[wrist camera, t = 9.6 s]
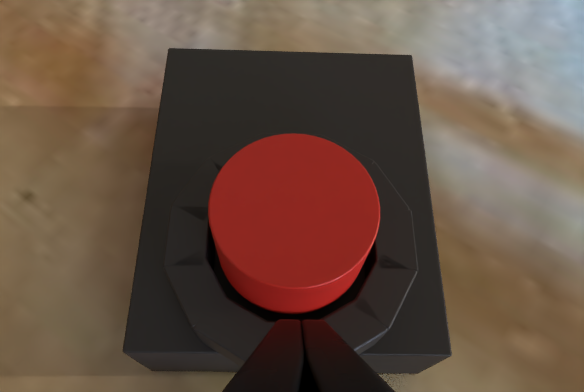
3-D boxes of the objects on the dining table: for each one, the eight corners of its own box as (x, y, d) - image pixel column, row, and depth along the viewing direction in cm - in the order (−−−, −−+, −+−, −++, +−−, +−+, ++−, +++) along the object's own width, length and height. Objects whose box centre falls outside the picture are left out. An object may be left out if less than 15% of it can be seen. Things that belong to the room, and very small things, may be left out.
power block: (420, 392, 19) (480, 368, 13) (148, 389, 18) (97, 365, 13) (391, 112, 24) (425, 17, 19) (183, 107, 24) (158, 8, 19)
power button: (369, 315, 14) (387, 290, 12) (212, 313, 14) (200, 287, 12) (360, 178, 16) (374, 134, 14) (222, 175, 16) (214, 130, 14)
